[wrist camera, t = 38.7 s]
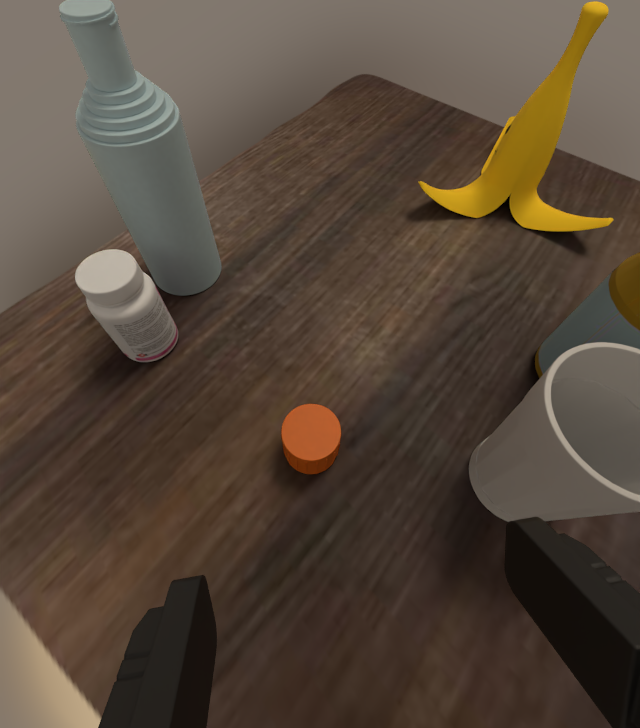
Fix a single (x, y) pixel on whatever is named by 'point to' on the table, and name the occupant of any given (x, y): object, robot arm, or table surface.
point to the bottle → (600, 316)
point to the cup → (568, 441)
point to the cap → (311, 438)
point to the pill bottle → (127, 305)
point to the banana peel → (530, 148)
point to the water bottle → (141, 154)
